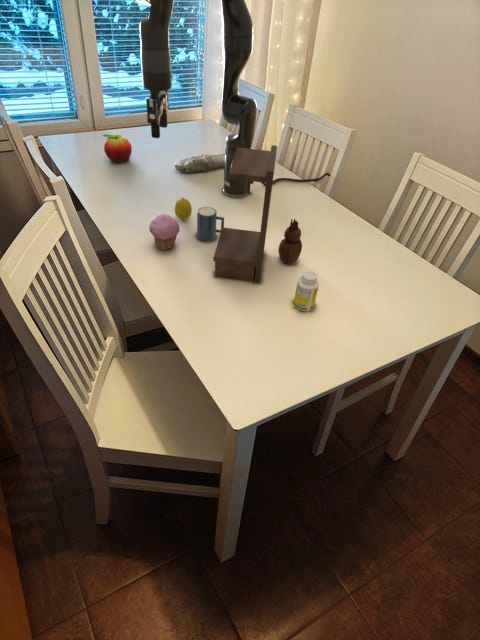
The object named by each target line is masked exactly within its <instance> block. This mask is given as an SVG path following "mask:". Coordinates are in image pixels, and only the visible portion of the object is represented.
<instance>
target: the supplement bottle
mask: <svg viewBox="0 0 480 640" xmlns="http://www.w3.org/2000/svg"><path fill="white" fill-rule="evenodd" d="M319 286H320V283H319V280H318V274H317V273H316V272H315V271H313V270H304V271H303V272H302V273H301V276H300V277H299V278H298V279H297V282H296V289H295V293H294V299H293V305H294V307H295V308H296V309H297V310H298V311H299V310H300V311H301V312H302V311H303V312H308V311H311V310H313V309H314V307H315V303H316V300H317V299H316V298H317V295H318V290H319Z"/></svg>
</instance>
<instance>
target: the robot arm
mask: <svg viewBox="0 0 480 640" xmlns="http://www.w3.org/2000/svg"><path fill="white" fill-rule="evenodd" d="M136 1H137V2H138V3H140V4H142V5H146V6H149V13H148V17H144V18H142V19H141V20H140V22H139V38H140V64H141V65H140V66H141V77H142V78H141V79H142V87H143V88H144V89H145V90H148V91H149V92H150V93H149V94H150V95H149V97H148V98H146V99H145V102H146V116H147V118H146V120H147V123H148V124H150V131H151V132H150V133H151V138H152V139H160V137H161V128H164V129H166V128H167V127H168V113H169V110H170V93H169V92H170V91H169V90H171V89H172V87H173V86H172V85H173V81H172V79H173V77H172V56H171V49H170V46H171V45H170V26H171V25H170V24H171V20H172V16H173V15H172V14H173V9H174V3H175V0H136ZM220 5H221V44H222V45H221V47H222V67H223V68H222V70H223V71H222V92H221V93H222V94H221V116H222V119H223V121H224V122H225V123H227V124H229V125H233V126H236V127H238V130H237V131H238V132H233V133H230V134H228V135H227V136H226V137H225V143H224V144H225V145H224V146H225V147H224V154H225V165H224V166H223V186H222V187H223V188H222V192H223V194H225V195H226V196H228V197H230V198H231V197H232V198H243V197H245V196H247V195H250V194H251V186H252V185H254V181H246V180H237V179H229V171H230V168H231V165H232V162H233V159H234V155H235V152H236V149H237V147H239V148H248V149H253V141H254V139H255V134H256V124H257V119H258V104H257V102H256V100H255V99H254V98H251V97H247V96H245V95H241V94H240V93H239V92H240V91H239V85H240V78H241V75H242V73H243V71H244V69H245V68H246V66H247V64H248V63H249V61H250V59H251V57H252V54H253V50H254V24H253V20H252V16H251V14H250V11H249V8H248V6H247V3H246V0H220ZM325 177H331V174H330V172H325V173H324V174H322V175H321V176H319V177H316V178H309V179H307V178H306V179H305V178H304V179H302V178H301V179H300V178H299V179H298V178H290V177H278V178H275V179H273V184H275V183H276V182H280V181H286V182H287V181H288V182H295V183H310V182H318V181H321V180H322V179H324V178H325ZM260 183H261V185H263V186H264V187H266V183H263V182H260Z"/></svg>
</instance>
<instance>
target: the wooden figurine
mask: <svg viewBox="0 0 480 640" xmlns="http://www.w3.org/2000/svg"><path fill="white" fill-rule="evenodd" d="M283 236H284V238H282V239H281V241H280V243H279V244H278V251H277V252H278V256H279V259H280V261H281V262H282V263H284V264H286V265H287V264H288V265H291V264H295V262H297V261H298V260H299V258H300V256H301V254H302V249H303V243H302V240H301V236H302V230H301V228H299V222H298V220H296V218H294V219H293V218H291V220H290V224H289V226H288V227H287V228H286V229H285V231H284V234H283Z"/></svg>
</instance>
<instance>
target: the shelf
mask: <svg viewBox="0 0 480 640" xmlns="http://www.w3.org/2000/svg"><path fill="white" fill-rule="evenodd" d="M277 153H278V145H270V150H267V149H266V150H264V149H256V148H251V149H248V148H239V147H237V149H236V152H235V155H234V159H233V162H232V165H231V168H230V171H229V179H237V180H246V181H254V182H256V183H261V182H263V183H266V186H265V189H264V196H263V197H264V198H263V205H262V214H261V224H260V231H256V230H248V229H240V228H232V227H231V228H230V227H225V226H224V227H222V229H221V228H220V230H221V232H220V233H219V237H218V239H217V244H216V247H215V250H214V254H213V257H212V259H213V260H212V262H215V263H214V277H215V278H224V279H233V280H240V281H248V282H254V283H257V284H260V283H261V278H262V277H261V276H262V269H263V261H264V254H265V247H266V239H267V238H266V237H267V231H268V230H267V229H268V222H269V214H270V206H271V198H272V193H273V192H272V191H273V184H274V183H273V181H274V175H275V168H276V160H277V159H276V158H277ZM254 182H253V183H254Z"/></svg>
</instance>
